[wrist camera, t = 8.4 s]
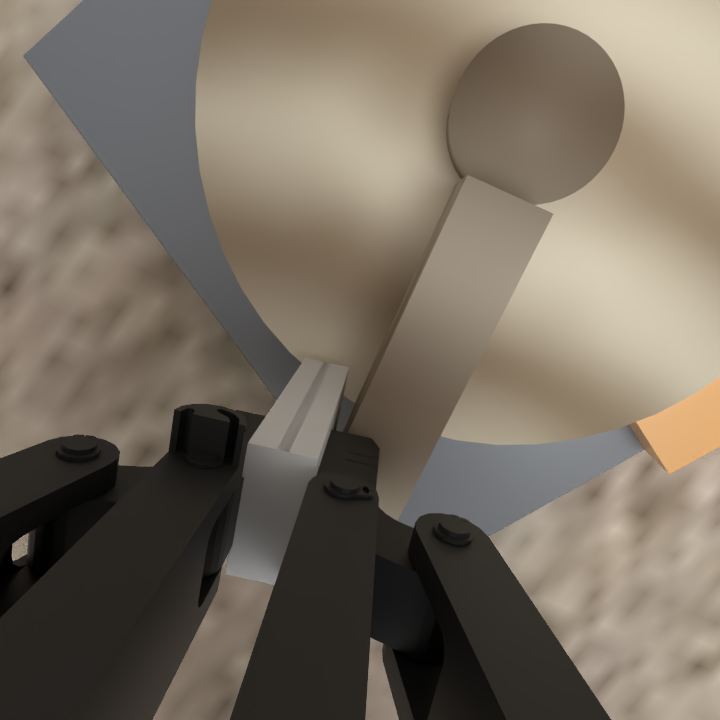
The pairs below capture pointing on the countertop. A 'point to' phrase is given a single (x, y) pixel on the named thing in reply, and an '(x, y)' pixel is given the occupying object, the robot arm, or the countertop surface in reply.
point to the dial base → (221, 289)
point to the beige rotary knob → (473, 207)
